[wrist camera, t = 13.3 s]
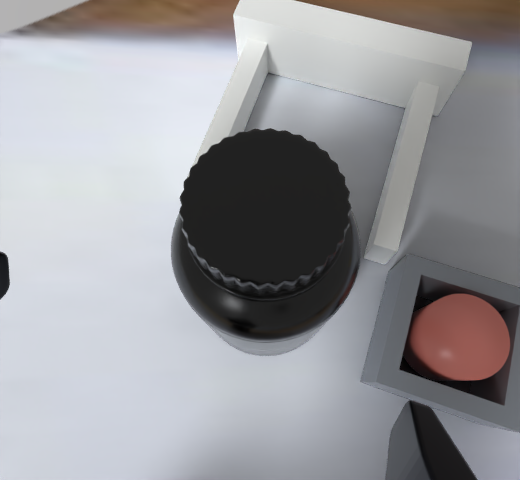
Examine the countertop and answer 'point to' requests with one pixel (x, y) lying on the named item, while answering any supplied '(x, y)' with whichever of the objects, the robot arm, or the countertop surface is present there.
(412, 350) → the plunger
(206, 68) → the countertop surface
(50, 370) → the countertop surface
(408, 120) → the white u-shaped frame
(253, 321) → the supplement bottle
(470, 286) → the plunger block
